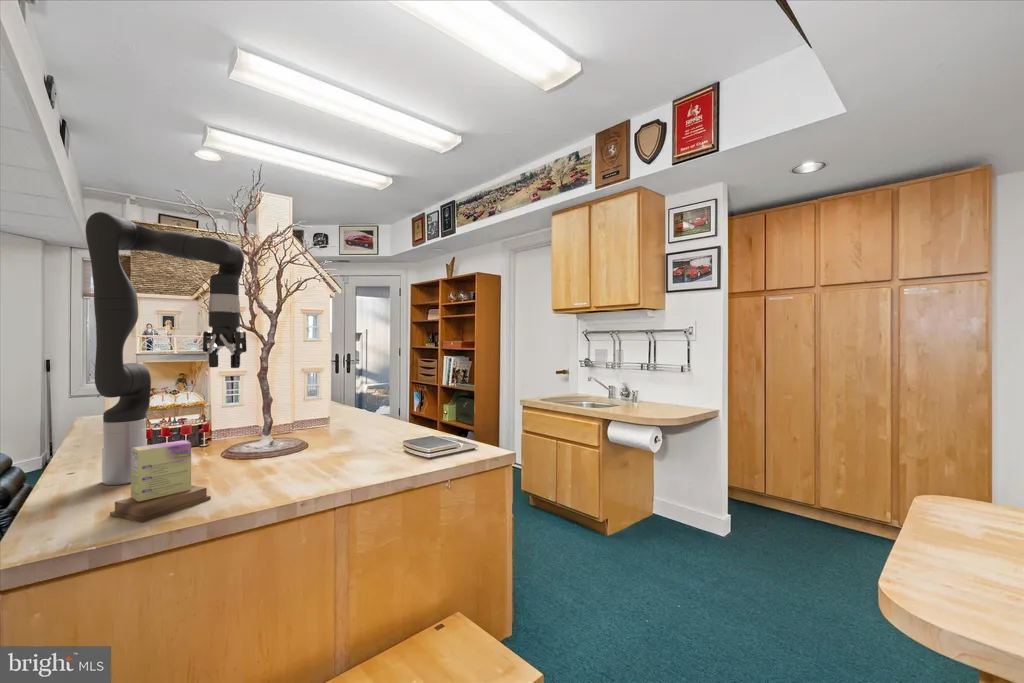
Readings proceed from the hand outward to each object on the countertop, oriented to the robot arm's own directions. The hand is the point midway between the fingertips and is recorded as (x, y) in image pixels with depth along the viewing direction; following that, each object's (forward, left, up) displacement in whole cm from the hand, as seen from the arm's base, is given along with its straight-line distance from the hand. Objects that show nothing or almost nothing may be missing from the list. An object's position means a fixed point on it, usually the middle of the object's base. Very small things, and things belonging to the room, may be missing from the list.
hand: (224, 367), depth 127 cm
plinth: (+6, -20, -32) cm, 38 cm away
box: (+5, -20, -29) cm, 36 cm away
